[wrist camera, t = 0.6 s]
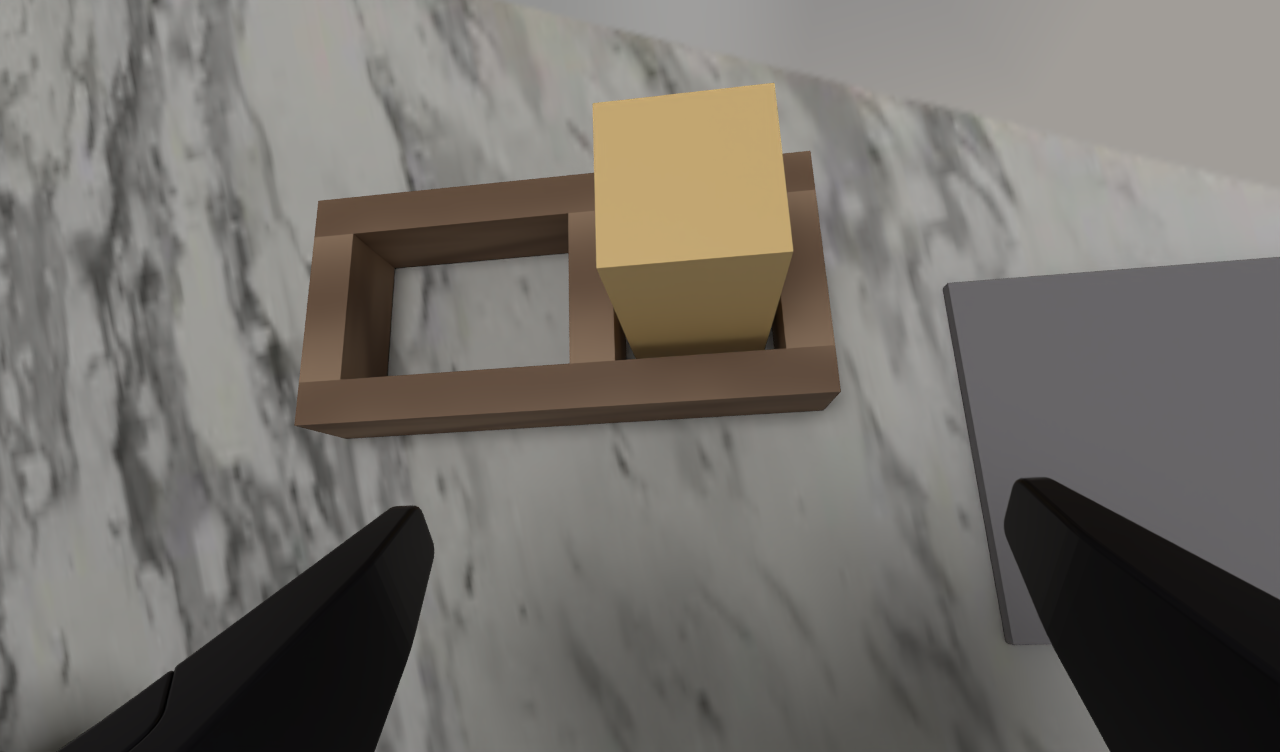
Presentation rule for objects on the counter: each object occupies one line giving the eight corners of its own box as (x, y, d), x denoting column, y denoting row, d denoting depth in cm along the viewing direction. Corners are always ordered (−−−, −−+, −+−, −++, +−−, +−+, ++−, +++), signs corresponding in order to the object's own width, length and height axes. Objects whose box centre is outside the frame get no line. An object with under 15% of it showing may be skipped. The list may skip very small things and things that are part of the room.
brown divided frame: (823, 410, 22) (840, 391, 19) (346, 438, 23) (294, 425, 20) (798, 197, 24) (810, 151, 21) (363, 238, 25) (318, 200, 23)
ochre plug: (761, 360, 22) (793, 251, 14) (640, 368, 23) (596, 268, 14) (751, 248, 23) (774, 82, 15) (635, 258, 24) (592, 103, 15)
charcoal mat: (1433, 632, 18) (1453, 635, 17) (1005, 642, 19) (1013, 644, 19) (1304, 260, 21) (1318, 253, 20) (942, 288, 22) (947, 282, 22)
